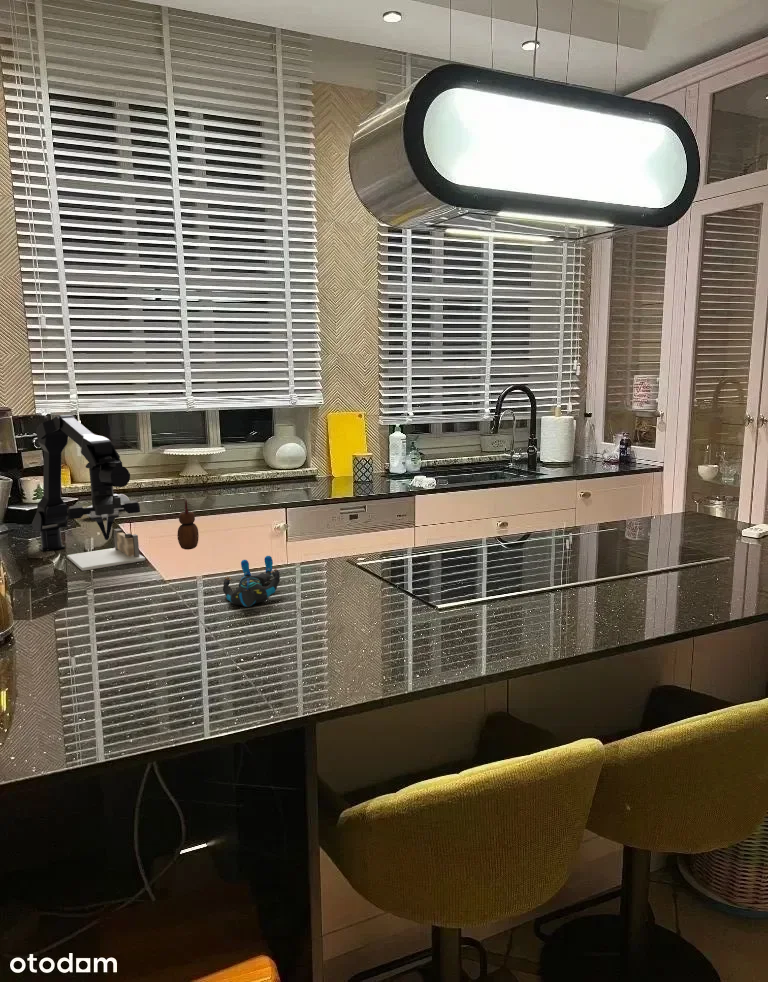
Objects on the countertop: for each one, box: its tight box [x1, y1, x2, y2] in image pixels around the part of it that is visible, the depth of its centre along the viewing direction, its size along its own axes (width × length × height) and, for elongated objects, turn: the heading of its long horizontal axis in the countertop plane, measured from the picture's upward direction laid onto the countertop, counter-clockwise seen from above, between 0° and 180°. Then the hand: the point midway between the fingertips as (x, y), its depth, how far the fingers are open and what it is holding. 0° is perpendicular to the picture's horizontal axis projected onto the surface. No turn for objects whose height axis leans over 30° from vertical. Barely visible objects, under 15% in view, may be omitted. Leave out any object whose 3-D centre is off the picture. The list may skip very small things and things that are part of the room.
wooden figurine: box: [177, 500, 200, 551], centre depth 225 cm, size 7×6×15 cm
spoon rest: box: [85, 493, 131, 520], centre depth 287 cm, size 24×12×7 cm, turn 168°
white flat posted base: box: [66, 531, 146, 572], centre depth 216 cm, size 19×17×7 cm
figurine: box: [222, 555, 281, 608], centre depth 177 cm, size 13×6×30 cm
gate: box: [113, 528, 134, 556], centre depth 219 cm, size 14×2×6 cm, turn 34°
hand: (106, 539), depth 211 cm, fingers closed
